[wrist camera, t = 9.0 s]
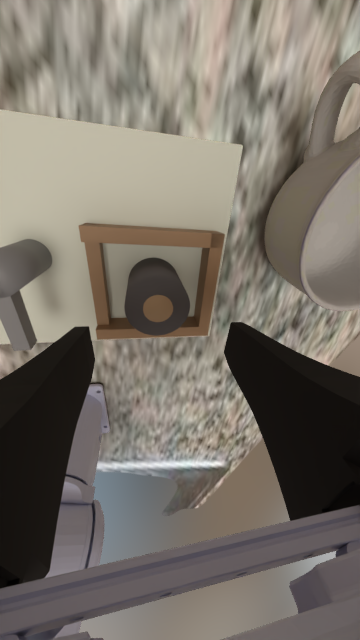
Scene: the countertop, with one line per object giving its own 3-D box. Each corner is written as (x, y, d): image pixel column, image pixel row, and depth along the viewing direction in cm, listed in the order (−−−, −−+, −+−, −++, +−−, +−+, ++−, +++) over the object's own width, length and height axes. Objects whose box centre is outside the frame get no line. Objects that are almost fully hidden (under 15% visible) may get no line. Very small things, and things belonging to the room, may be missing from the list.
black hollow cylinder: (175, 305, 19) (185, 336, 15) (128, 304, 18) (124, 336, 14) (181, 259, 17) (195, 279, 13) (128, 255, 16) (123, 275, 12)
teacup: (351, 255, 21) (450, 282, 14) (254, 293, 22) (307, 336, 15) (377, 63, 14) (607, -71, 7) (229, 125, 14) (312, 54, 7)
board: (206, 330, 23) (225, 368, 18) (-19, 337, 19) (-80, 390, 14) (235, 149, 15) (288, 120, 10) (-143, 95, 11) (-410, -5, 6)
